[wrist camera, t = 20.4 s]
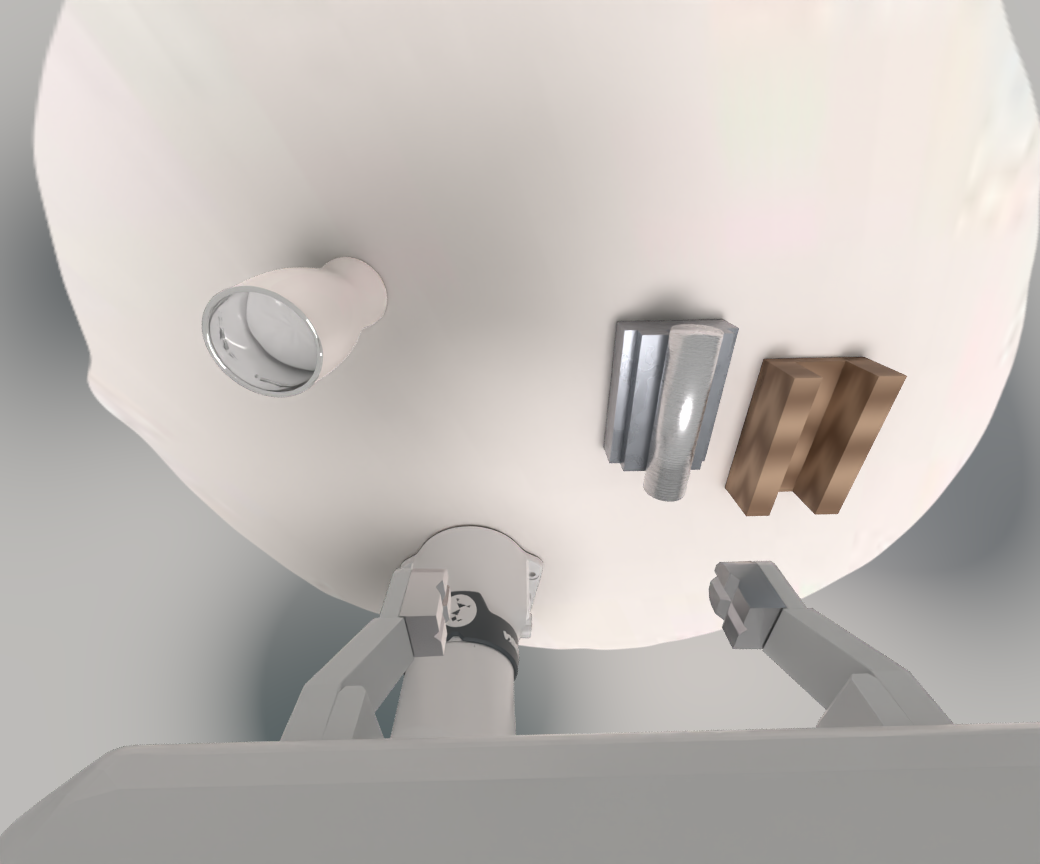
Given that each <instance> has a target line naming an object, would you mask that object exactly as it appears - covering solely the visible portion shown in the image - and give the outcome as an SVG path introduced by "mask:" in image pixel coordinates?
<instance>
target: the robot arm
mask: <svg viewBox="0 0 1040 864" xmlns="http://www.w3.org/2000/svg"><path fill="white" fill-rule="evenodd" d="M542 571H543V562H542V560H541V559H539V558H538V557H536V556H533V555H531V554H529V553H526V552H525V551H523V550H522V549H521V548H520V547H519V546H518V545H517V544H516V543H515V542H514V541H513V540H512V539H511V538H509V537H508V536H506V535H504V534H502V533H500V532H497V531H495V530H492V529H488V528H483V527H475V526H464V527H456V528H451V529H448V530H445V531H442V532H440V533H438V534H436V535H434V536H433V537H431V538H430V539H429V540H428V541H427V542H426V543H425V544H424V545H423V546H422V548H421V549H420V550H419V552H418V553H417V554H416V555H414V556H413V557H411V558H409V559H407V560H405V561H404V562H403V563H402V564H401V567H400V569H396V570H395V572H394V573H393V575H392V578H391V582H390V585H389V588H388V591H387V594H386V597H385V600H384V603H383V606H382V610H381V613H380V616H379V618H373V619H372V620H371V621H370V622H369V623H368V624H367V625H366V626H365V627H364V628H363V629H362V630H361V631H360V632H359V633H358V634H357V635H356V636H355V637H354V638H353V639H352V640H351V641H349V642H348V643H347V644H346V645H345V646H344V647H343V648H342V649H341V650H340V651H339V652H338V653H337V654H336V655H335V656H334V657H333V658H332V659H331V660H330V661H329V662H328V663H327V664H326V665H325V666H324V667H323V668H321V670H319V671H318V672H317V673H316V674H315V675H314V676H313V677H312V678H311V679H310V680H309V681H308V682H307V683H306V684H305V685H304V687H303V689H302V692H301V694H300V696H299V698H298V701H297V703H296V705H295V707H294V710H293V712H292V714H291V717H290V719H289V721H288V724H287V726H286V728H285V730H284V733H283V735H282V737H281V740H280V741H268V742H228V743H188V744H147V745H131V746H123V747H119V748H117V749H114V750H111V751H110V752H107V753H106V754H104V755H103V756H101V757H100V758H99V759H97V760H96V761H94V762H93V763H91V764H90V765H88V766H87V767H86V768H84V769H83V770H81V771H80V772H79V773H77V774H76V775H75V776H73V777H72V778H70V779H69V780H68V781H66V782H65V783H64V784H62V785H61V786H60V787H58V788H57V789H56V790H54V791H53V792H51V793H50V794H49V795H47V796H46V797H45V798H44V799H42V800H41V801H39V802H38V803H37V804H36V805H34V806H33V807H32V808H31V809H29V810H28V811H27V812H25V813H24V814H23V815H22V816H20V817H19V818H18V819H17V820H16V821H15V822H14V823H12V824H11V825H10V826H9V827H8V828H7V829H6V830H5V831H4V832H3V833H2V835H1V836H0V864H1040V722H1025V723H1024V722H1022V723H986V724H953V722H952V721H951V720H950V719H949V718H948V717H947V715H946V714H945V713H944V712H943V711H942V709H941V708H940V707H939V706H938V705H937V703H936V702H935V701H934V700H933V699H932V697H931V696H930V695H929V694H928V693H927V692H926V690H925V689H924V688H923V687H922V686H921V685H920V683H919V682H918V681H917V680H916V678H915V677H914V676H913V675H912V674H911V672H910V671H908V670H906V669H905V668H904V667H902V666H901V665H899V664H898V663H896V662H894V661H893V660H891V659H890V658H888V657H887V656H885V655H884V654H882V653H881V652H879V651H878V650H876V649H874V648H873V647H871V646H870V645H868V644H867V643H865V642H864V641H862V640H861V639H859V638H858V637H856V636H854V635H853V634H851V633H850V632H848V631H847V630H845V629H844V628H842V627H840V626H839V625H838V624H836V623H834V622H833V621H831V620H830V619H828V618H827V617H825V616H824V615H822V614H821V613H819V612H817V611H816V610H815V609H813V608H807V607H806V606H805V604H804V603H803V602H802V600H801V599H800V598H799V596H798V595H797V593H796V592H795V591H794V589H793V588H792V587H791V585H790V584H789V582H788V581H787V580H786V578H785V577H784V576H783V574H782V573H781V572H780V570H779V569H778V567H777V566H776V565H775V564H774V563H773V562H771V561H753V562H752V561H739V562H719V563H718V564H717V565H716V568H715V570H714V571H715V573H716V575H717V577H715V578H714V579H713V580H712V581H711V582H710V586H709V599H710V602H711V605H712V608H713V610H714V612H715V614H717V615H718V616H719V617H721V618H722V619H723V620H724V622H723V626H722V628H723V630H724V632H725V634H726V636H727V638H728V640H729V642H730V644H731V646H732V648H733V649H763V652H765V653H766V654H767V655H768V656H769V657H770V658H771V659H772V660H773V661H774V662H775V663H776V664H777V665H779V666H780V667H781V668H782V669H783V670H784V671H785V672H786V673H787V674H788V675H789V676H790V677H791V678H792V679H794V680H795V681H796V682H797V683H798V684H799V685H800V686H801V687H802V688H803V689H804V690H806V691H807V692H808V693H809V694H810V695H811V696H812V697H813V698H814V699H815V700H816V701H817V702H818V703H819V704H821V705H822V706H823V707H824V708H825V709H826V711H825V713H824V714H823V716H822V717H821V718H820V720H819V721H818V723H817V726H816V728H788V729H787V728H786V729H748V730H747V729H746V730H710V731H709V730H706V731H671V732H670V731H666V732H630V733H629V732H625V733H587V734H549V735H516V726H515V708H514V681H515V679H516V676H517V672H518V664H519V650H518V642H519V639H520V638H530V637H531V630H532V622H531V621H532V614H531V613H530V611H531V607H532V604H533V601H534V597H535V594H536V591H537V587H538V584H539V581H540V578H541V574H542ZM403 674H404V680H403V685H402V689H401V694H400V698H399V702H398V706H397V711H396V716H395V720H394V724H393V729H392V733H391V738H389V739H384V737H383V735H382V732H381V729H380V727H379V724H378V721H377V719H376V716H375V714H374V713H375V712H376V710H377V709H378V708H379V706H380V705H381V703H382V702H383V701H384V699H385V698H386V696H387V695H388V694H389V692H390V691H391V690H392V689H393V687H394V686H395V684H396V683H397V682H398V680H399V679H400V678H401V676H402V675H403Z"/></svg>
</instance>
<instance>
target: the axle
mask: <svg viewBox="0 0 1040 864" xmlns="http://www.w3.org/2000/svg"><path fill="white" fill-rule="evenodd" d="M723 335H724V332H723V331H722V330H720V329H718V328H715V327H711V326H706V325H699V324H680V325H675V326H673V327H671V328H670V333H669V339H668V345H667V351H666V356H665V362H664V368H663V374H662V379H661V385H660V391H659V397H658V402H657V408H656V414H655V420H654V425H653V431H652V437H651V442H650V448H649V454H648V460H647V465H646V471H645V477H644V483H643V488H644V490H645V491H646V493H647V494H649V495H650V496H652V497H653V498H656V499H658V500H662V501H677V500H680V499H681V498H683V496H684V494H685V491H686V487H687V482H688V478H689V474H690V470H691V466H692V462H693V458H694V454H695V450H696V446H697V442H698V437H699V433H700V429H701V425H702V421H703V417H704V413H705V409H706V405H707V401H708V396H709V392H710V388H711V384H712V380H713V376H714V372H715V368H716V364H717V360H718V355H719V351H720V347H721V343H722V339H723Z"/></svg>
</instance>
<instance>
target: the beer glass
mask: <svg viewBox="0 0 1040 864" xmlns="http://www.w3.org/2000/svg"><path fill="white" fill-rule="evenodd" d="M386 306H387V292H386V288H385V285H384V283H383V281H382V279H381V277H380V276H379V275H378V273H377V272H376V271H375V270H374V269H373V268H372V267H371V266H369V265H368V264H367V263H365V262H363V261H361V260H359V259H356V258H352V257H339V258H335V259H333V260H331V261H329V262H327V263H326V264H325V265H324V266H323V267H322V268H309V267H290V268H282V269H277V270H273V271H268V272H265V273H262V274H260V275H257V276H254V277H252V278H249V279H247V280H245V281H243V282H241V283H239V284H237V285H235V286H233V287H229V288H226V289H224V290H222V291H220V292H219V293H217V294H216V295H215V296H214V297H213V298H212V299H211V300H210V301H209V302H208V304H207V306H206V308H205V310H204V313H203V317H202V332H203V337H204V341H205V344H206V347H207V349H208V351H209V353H210V355H211V356H212V358H213V359H214V361H215V362H216V364H217V365H218V366H219V367H220V368H221V370H222V371H223V372H224V373H225V374H226V375H228V376H229V377H230V378H231V379H232V380H234V381H235V382H237V383H238V384H240V385H241V386H243V387H245V388H247V389H249V390H251V391H253V392H256V393H259V394H262V395H266V396H271V397H289V396H294V395H297V394H300V393H302V392H304V391H306V390H307V389H309V388H310V387H311V386H312V385H313V384H315V383H316V382H318V381H319V380H321V379H322V378H324V377H325V376H327V375H328V374H329V373H331V372H332V371H333V370H334V369H335V368H337V367H338V366H339V365H340V364H341V363H342V362H343V361H344V360H345V359H346V357H347V356H348V355H349V354H350V353H351V351H352V350H353V348H354V346H355V345H356V343H357V341H358V339H359V337H360V334H361V332H362V330H363V328H366V327H369V326H372V325H373V324H375V323H376V322H378V321H379V320H380V319H381V317H382V316H383V314H384V312H385V310H386Z"/></svg>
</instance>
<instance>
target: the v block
mask: <svg viewBox="0 0 1040 864" xmlns="http://www.w3.org/2000/svg"><path fill="white" fill-rule="evenodd" d="M680 324H699V325H706V326H711V327H715V328H718V329H720V330H722V331H723V332H724V335H723V339H722V343H721V347H720V351H719V355H718V360H717V364H716V368H715V372H714V376H713V380H712V384H711V388H710V392H709V396H708V401H707V405H706V409H705V413H704V417H703V421H702V425H701V429H700V433H699V437H698V442H697V446H696V450H695V454H694V458H693V462H692V466H691V470H697V469H700V467H701V463H702V461H705V457H706V453H707V449H708V445H709V442H710V438H711V434H712V430H713V426H714V422H715V418H716V415H717V411H718V407H719V403H720V399H721V395H722V391H723V388H724V384H725V380H726V376H727V372H728V368H729V364H730V361H731V357H732V353H733V349H734V345H735V341H736V337H737V334H738V330H739V328H738V327H736V326H734V325H732V324H731V323H729V322H727V321H725V320H723V319H719V320H670V321H622V322H617V327H616V337H615V346H614V356H613V365H612V375H611V384H610V393H609V403H608V412H607V422H606V431H605V441H604V450H605V452H606V455H607V458H608V460H609V463H620V464H621V467H622V469H623V471H646V465H647V460H648V454H649V448H650V442H651V437H652V431H653V425H654V420H655V414H656V408H657V402H658V397H659V391H660V385H661V379H662V374H663V368H664V362H665V356H666V351H667V345H668V339H669V333H670V328H671V327H673V326H675V325H680Z"/></svg>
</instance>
